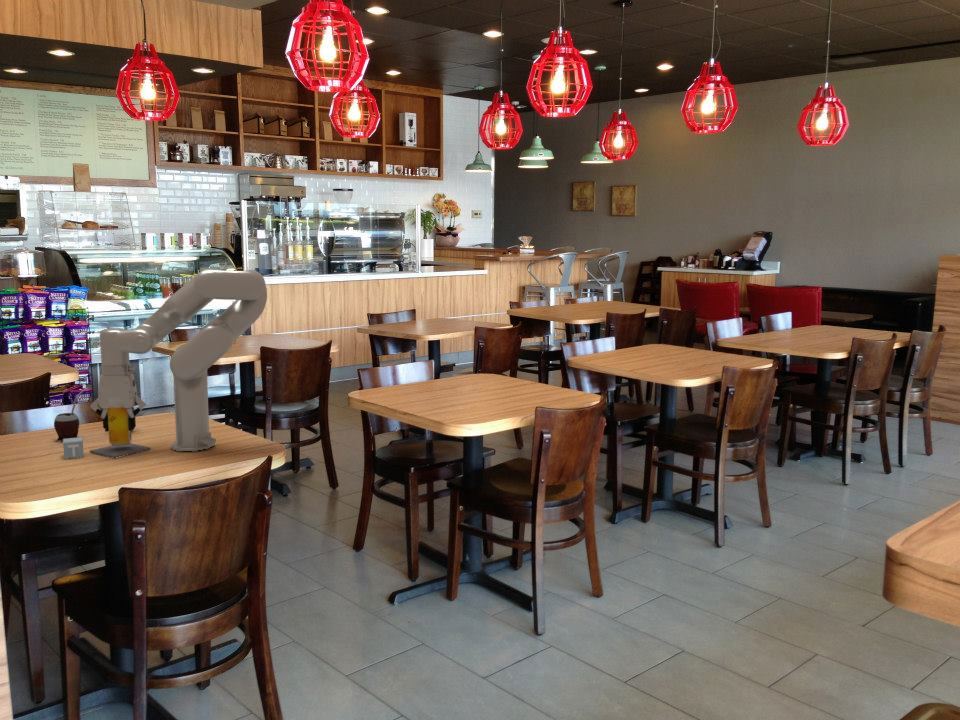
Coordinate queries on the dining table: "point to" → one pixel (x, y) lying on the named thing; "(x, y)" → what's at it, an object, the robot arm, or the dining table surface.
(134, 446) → the coaster
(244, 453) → the dining table surface
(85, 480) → the dining table surface
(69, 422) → the mate gourd
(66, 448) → the letter block
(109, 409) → the beer can
